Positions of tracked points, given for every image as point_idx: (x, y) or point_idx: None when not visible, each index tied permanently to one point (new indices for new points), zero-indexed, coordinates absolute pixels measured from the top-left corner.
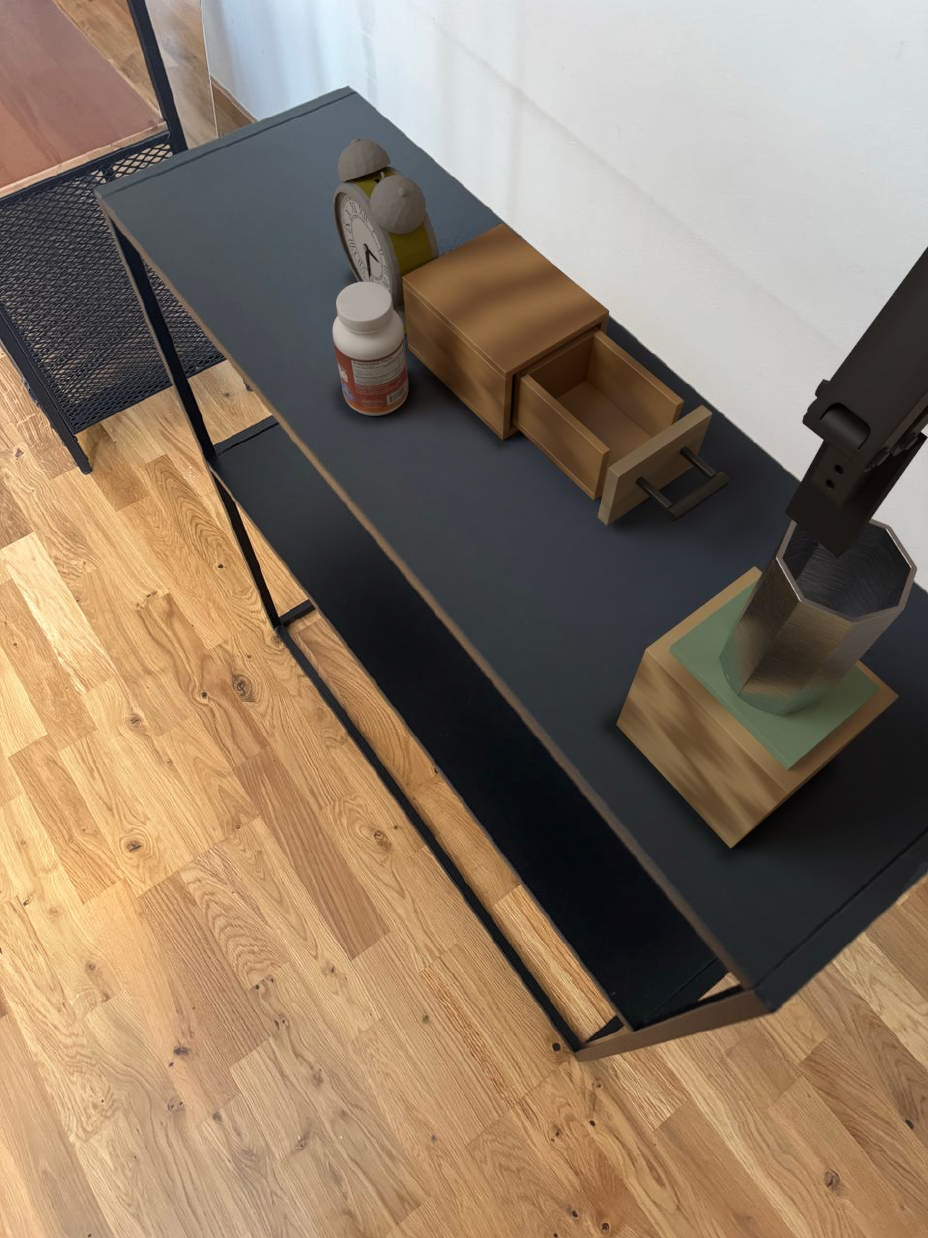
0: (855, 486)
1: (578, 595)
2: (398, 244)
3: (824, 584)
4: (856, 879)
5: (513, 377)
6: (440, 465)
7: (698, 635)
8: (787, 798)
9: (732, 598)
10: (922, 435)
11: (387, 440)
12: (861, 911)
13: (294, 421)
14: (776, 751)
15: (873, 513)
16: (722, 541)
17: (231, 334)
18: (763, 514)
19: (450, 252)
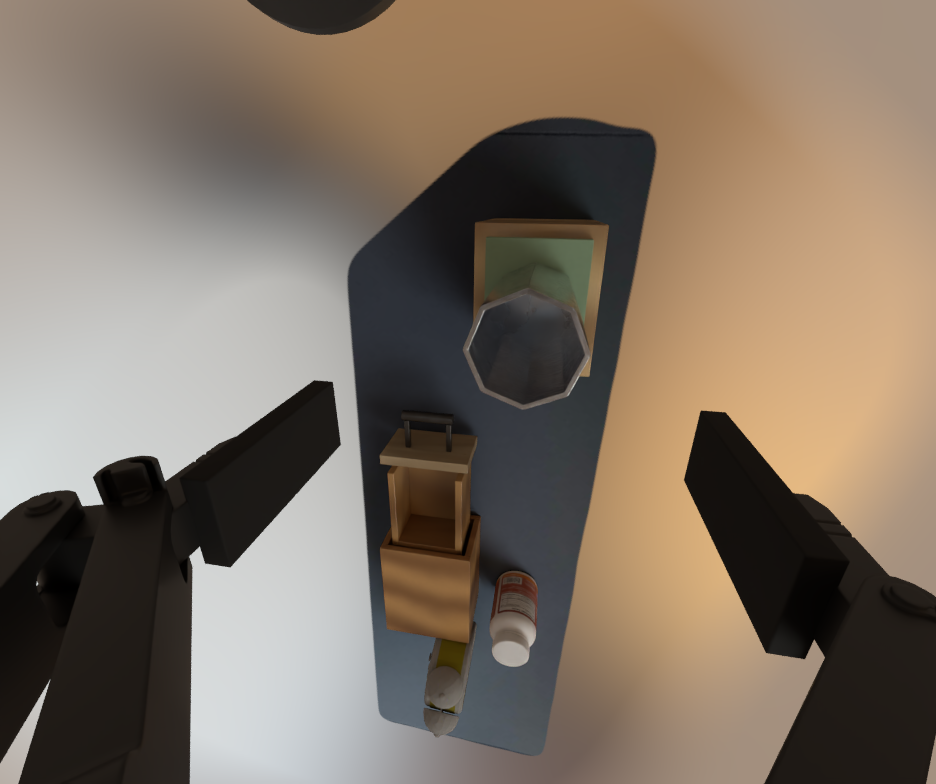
0: (839, 529)
1: (526, 413)
2: (458, 663)
3: (489, 335)
4: (545, 141)
5: None
6: (524, 528)
7: None
8: (542, 219)
9: None
10: (808, 562)
11: (536, 560)
12: (562, 121)
13: (570, 602)
14: (591, 256)
15: (734, 448)
16: (422, 378)
17: (554, 661)
18: (385, 373)
19: (430, 635)
